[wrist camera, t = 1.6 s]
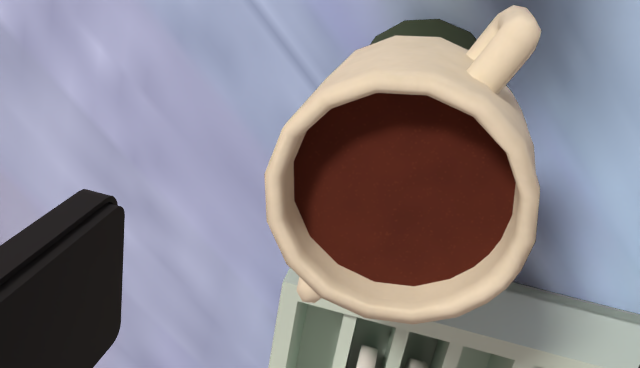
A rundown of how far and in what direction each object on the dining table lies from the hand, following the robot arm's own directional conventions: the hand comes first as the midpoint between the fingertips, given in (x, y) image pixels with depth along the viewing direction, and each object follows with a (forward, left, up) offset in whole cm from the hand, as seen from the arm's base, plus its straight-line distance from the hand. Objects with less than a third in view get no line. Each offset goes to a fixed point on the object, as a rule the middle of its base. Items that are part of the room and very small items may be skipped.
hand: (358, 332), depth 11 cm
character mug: (0, 0, -18) cm, 18 cm away
